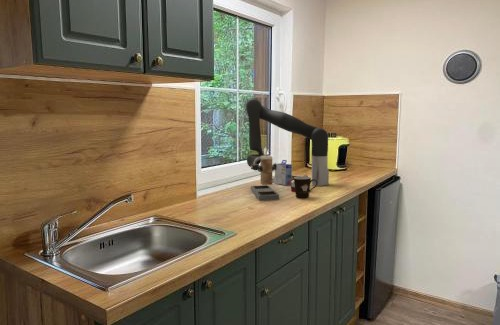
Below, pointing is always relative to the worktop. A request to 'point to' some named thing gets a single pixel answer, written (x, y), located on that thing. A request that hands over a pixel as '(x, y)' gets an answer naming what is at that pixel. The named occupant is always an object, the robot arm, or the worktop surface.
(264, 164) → the walnut peg
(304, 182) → the coffee mug
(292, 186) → the canned food
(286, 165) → the ink cartridge box
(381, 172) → the worktop surface
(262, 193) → the holder tray
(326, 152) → the robot arm
